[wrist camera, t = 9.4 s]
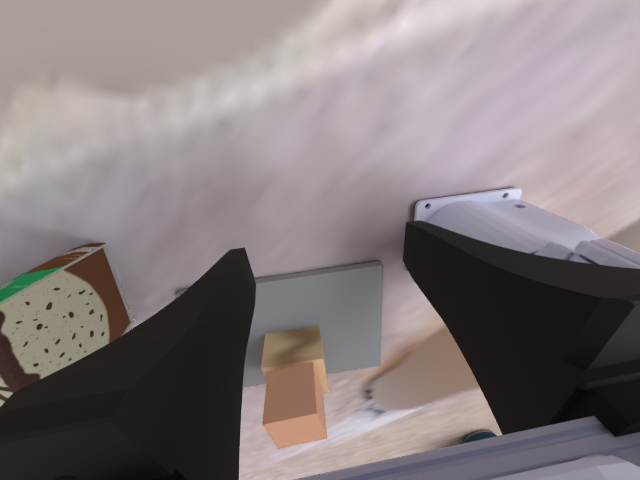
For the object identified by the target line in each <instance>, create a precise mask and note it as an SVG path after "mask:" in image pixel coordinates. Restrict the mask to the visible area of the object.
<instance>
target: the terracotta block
mask: <svg viewBox="0 0 640 480" xmlns="http://www.w3.org/2000/svg"><path fill="white" fill-rule="evenodd" d="M263 426H264V428H265V429H266V431H267V432H268V434H269V435H270V437H271V438H272V440H273V441H274V443H275V444H276V446H277V447H278V449H279V448H283V447H288V446H293V445H298V444H303V443H307V442H312V441H317V440H322V439H326V438H327V431H326V421H325V411H324V401H323V391H322V385H321V383H320V380H319V377H318V374H317V371H316V368H315V366H314V363H313V362H309V363H305V364H300V365H295V366H291V367H286V368H281V369H277V370H272V371H268V375H267V385H266V395H265V405H264V415H263Z"/></svg>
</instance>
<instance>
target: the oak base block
mask: <svg viewBox="0 0 640 480" xmlns="http://www.w3.org/2000/svg"><path fill="white" fill-rule="evenodd" d="M309 362H313V363H314V366H315V368H316V371H317V374H318V377H319V380H320V383H321V385H322V391H323V394H327V393H329V392H328V383H327V375H326V367H325V359H324V352H323V346H322V339H321V333H320V327H319V326H314V327H308V328H301V329H294V330H288V331H281V332H274V333H268V334H265V341H264V348H263V356H262V364H261V370H262V372H263V375H264V378H265V380H266V383H267V375H268V371H272V370H277V369H281V368H286V367H291V366H295V365H300V364H305V363H309Z"/></svg>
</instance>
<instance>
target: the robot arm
mask: <svg viewBox="0 0 640 480" xmlns="http://www.w3.org/2000/svg"><path fill="white" fill-rule="evenodd" d="M504 193H505V195H504V196H503V194H504ZM521 193H522V190H521V189H520V188H517V187H514V188H507V189H500V190H492V191H485V192H478V193H470V194H463V195H456V196H449V197H441V198H434V199H427V200H420V201H418V202H417V203H416V205H415V214H414V221H412V222H406V229H405V241H404V253H403V261H404V263H405V265H406V267H407V269H408V271H409V273H410V275H411V277H412V278H413V280H414V281H415V282H416V284H417V285H418V287H419V288H420V289H421V291H422V292H423V294H424V295H425V296H426V298H427V299H428V300H429V302H430V303H431V304H432V306H433V307H434V309H435V310H436V311H437V313H438V314H439V315H440V317H441V318H442V320H443V321H444V323H445V324H446V326H447V327H448V329H449V331H450V333H451V334H452V336H453V338H454V339H455V341H456V343H457V344H458V346H459V348H460V350H461V352H462V354H463V355H464V357H465V359H466V361H467V363H468V365H469V367H470V368H471V370H472V372H473V374H474V376H475V378H476V380H477V382H478V384H479V386H480V388H481V390H482V392H483V394H484V396H485V398H486V400H487V402H488V404H489V406H490V408H491V411H492V413H493V415H494V417H495V419H496V421H497V423H498V426H499V428H500V430H501V432H502V434H503V435H501V436H496V437H492V438H487V439H482V440H477V441H473V442H468V443H463V444H459V445H454V446H449V447H445V448H440V449H435V450H430V451H426V452H421V453H416V454H412V455H407V456H402V457H398V458H393V459H388V460H384V461H379V462H374V463H369V464H365V465H360V466H355V467H351V468H346V469H341V470H337V471H332V472H327V473H323V474H318V475H313V476H308V477H304V478H299V479H294V480H640V253H638V252H636V251H634V250H631V249H629V248H626V247H624V246H622V245H619V244H617V243H614V242H612V241H609V240H607V239H600V238H599V237H598V236H597V235H596V234H595V233H593V232H592V231H591V230H589V229H588V228H586V227H584V226H583V225H580V224H578V223H576V222H573V221H571V220H568V219H566V218H563V217H561V216H558V215H556V214H554V213H551V212H549V211H546V210H544V209H541V208H539V207H536V206H534V205H532V204H529V203H527V202H524V201H522V200H520V196H521ZM428 203H429V205H428V207H425V206H426V204H428ZM255 298H256V282H255V279H254V276H253V273H252V270H251V266H250V263H249V260H248V257H247V254H246V250H245V248H239V249H232V250H230V251H228V252H227V253H226V254H225V255H224V256H223V257H222V258H221V259H220V260H219V261H218V262H217V263H216V264H215V265H213V266H212V267H211V268H210V269H209V270H208V271H207V272H206V273H205V274H204V275H203V276H202V277H201V278H200V279H199V280H197V281H196V282H195V283H194V284H193V285H192V286H191V287H189V288H188V289H187V290H186V291H185V292H184V293H183V294H181V295H180V296H179V297H178V298H176V299H175V300H174V301H172V302H171V303H170V304H169V305H167V306H166V307H164V308H163V309H162V310H160V311H159V312H158V313H156V314H155V315H153V316H152V317H150V318H149V319H147V320H146V321H144V322H143V323H141V324H139V325H138V326H136V327H135V328H133V329H132V330H130V331H129V332H127V333H126V334H124V335H122V336H121V337H119V338H117V339H116V340H114V341H112V342H110V343H109V344H107V345H105V346H103V347H102V348H100V349H98V350H96V351H94V352H93V353H91V354H89V355H87V356H85V357H84V358H82V359H80V360H78V361H76V362H74V363H72V364H70V365H68V366H66V367H64V368H62V369H60V370H58V371H56V372H54V373H52V374H50V375H48V376H46V377H44V378H42V379H40V380H38V381H36V382H34V383H32V384H30V385H28V386H26V387H24V388H22V389H19V390H17V391H15V392H14V393H13V394H12V395H11V396H10V397H9V398H8V399H7V400H6V401H5V402H4V403H3V405H2V406H1V407H0V480H239V446H240V423H241V405H242V390H243V377H244V365H245V357H246V350H247V345H248V340H249V335H250V330H251V324H252V319H253V314H254V308H255Z"/></svg>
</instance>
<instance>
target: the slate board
mask: <svg viewBox="0 0 640 480" xmlns="http://www.w3.org/2000/svg"><path fill="white" fill-rule="evenodd" d="M382 272H383V265H382V263H381V261H375V262H368V263H361V264H354V265H347V266H340V267H333V268H326V269H319V270H312V271H305V272H298V273H291V274H284V275H277V276H270V277H263V278H256V279H255V282H256V298H255V308H254V314H253V319H252V324H251V330H250V335H249V340H248V345H247V350H246V357H245V365H244V377H243V387H247V386H253V385H260V384H266V380H265V378H264V375H263V372H262V370H261V364H262V356H263V348H264V341H265V334H268V333H274V332H281V331H288V330H294V329H301V328H308V327H314V326H319V327H320V333H321V339H322V346H323V352H324V359H325V367H326V374H330V373H337V372H343V371H349V370H356V369H362V368H369V367H375V366H380V355H381V314H382ZM187 289H188V288H187ZM187 289H180V290H179V291H178V293H177V294H176V296H177V298H178V297H179V296H180V295H181V294H183V293H184V292H185V291H186V290H187Z"/></svg>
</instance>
